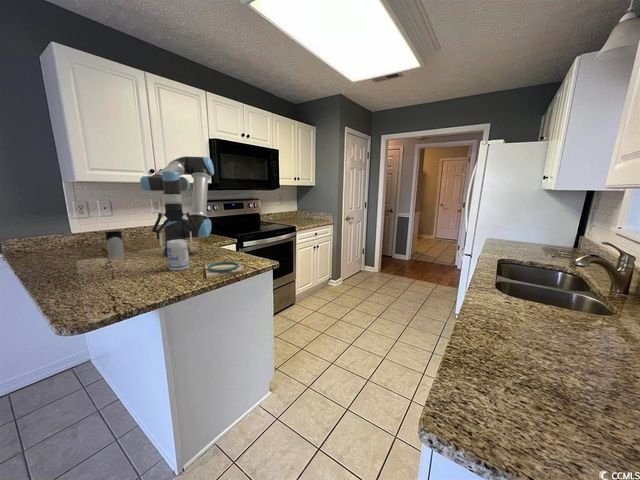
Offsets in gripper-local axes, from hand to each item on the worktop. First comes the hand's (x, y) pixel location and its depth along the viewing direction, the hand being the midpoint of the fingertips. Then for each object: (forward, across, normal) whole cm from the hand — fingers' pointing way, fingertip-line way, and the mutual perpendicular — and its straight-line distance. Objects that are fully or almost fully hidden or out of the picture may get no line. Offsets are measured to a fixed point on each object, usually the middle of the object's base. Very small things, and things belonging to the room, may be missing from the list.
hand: (176, 244), depth 135 cm
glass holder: (+13, -37, +44) cm, 59 cm away
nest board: (+13, +21, -12) cm, 28 cm away
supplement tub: (+13, 0, 0) cm, 13 cm away
